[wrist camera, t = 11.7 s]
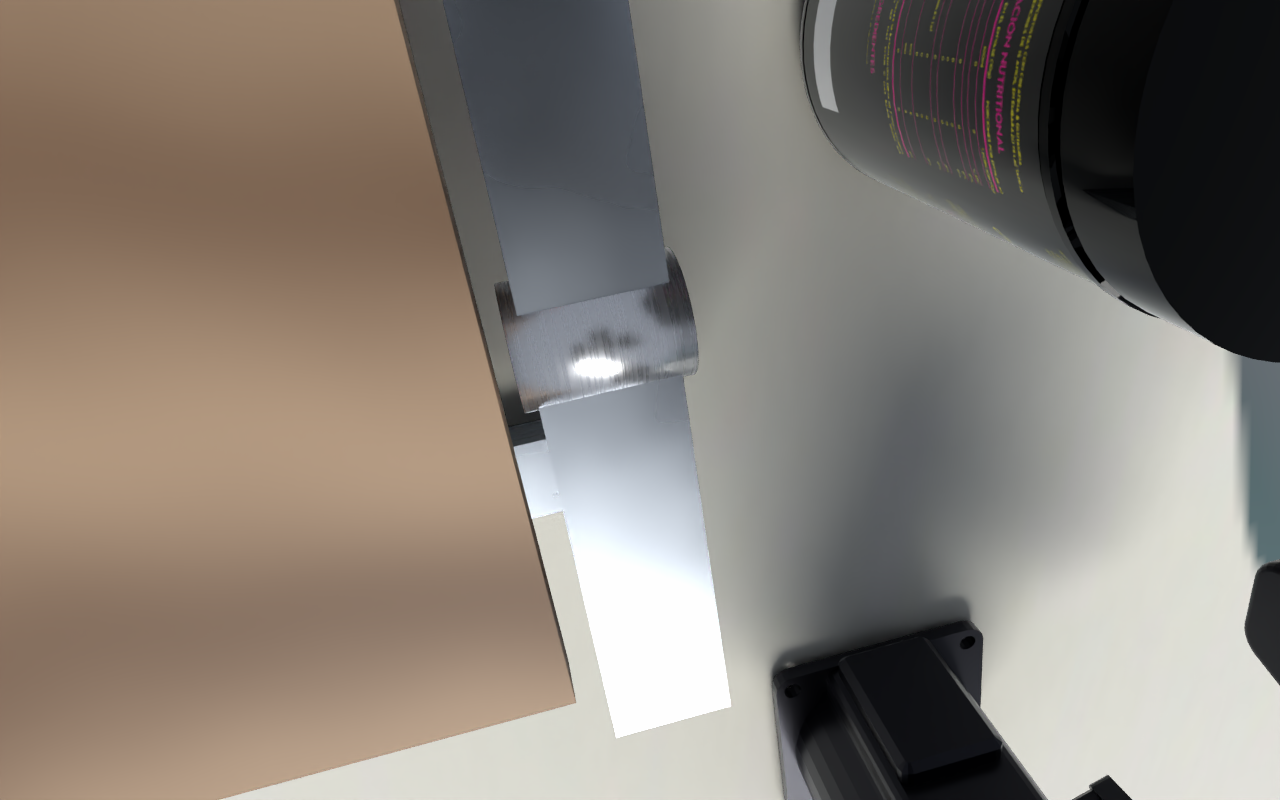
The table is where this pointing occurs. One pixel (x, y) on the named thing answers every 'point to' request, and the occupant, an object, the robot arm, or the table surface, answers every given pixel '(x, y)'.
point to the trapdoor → (243, 410)
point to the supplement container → (1078, 138)
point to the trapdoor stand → (597, 338)
